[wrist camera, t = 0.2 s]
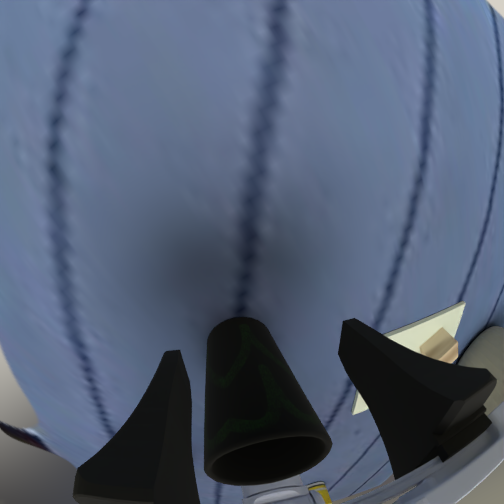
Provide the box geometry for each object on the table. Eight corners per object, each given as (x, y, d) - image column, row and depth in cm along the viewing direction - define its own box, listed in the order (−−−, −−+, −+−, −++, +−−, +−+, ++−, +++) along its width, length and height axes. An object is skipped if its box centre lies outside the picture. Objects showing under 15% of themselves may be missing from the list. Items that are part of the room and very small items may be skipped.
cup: (296, 345, 25) (347, 452, 14) (228, 383, 26) (251, 492, 15) (252, 289, 22) (301, 416, 11) (176, 337, 22) (175, 466, 12)
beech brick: (443, 342, 30) (458, 357, 27) (422, 361, 31) (436, 376, 28) (442, 326, 29) (457, 341, 26) (419, 346, 29) (434, 363, 26)
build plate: (436, 372, 35) (438, 375, 34) (351, 412, 33) (352, 415, 32) (462, 300, 29) (465, 303, 28) (367, 340, 27) (369, 343, 26)
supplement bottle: (303, 484, 43) (316, 520, 34) (326, 479, 44) (340, 512, 36) (298, 491, 45) (309, 524, 36) (319, 486, 46) (332, 518, 38)
